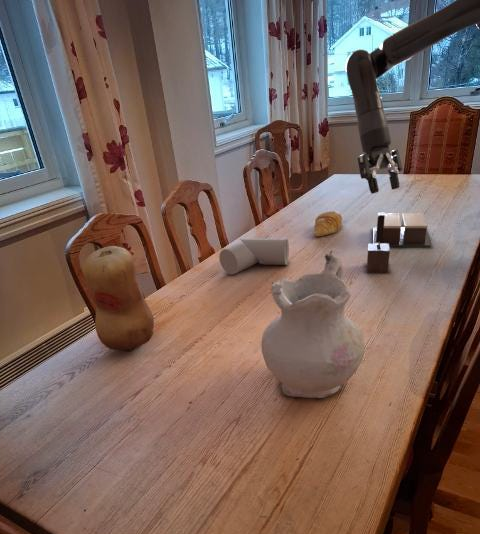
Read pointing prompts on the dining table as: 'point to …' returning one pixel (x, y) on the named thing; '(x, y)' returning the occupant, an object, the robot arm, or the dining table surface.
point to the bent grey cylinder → (254, 254)
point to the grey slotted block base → (404, 231)
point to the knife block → (378, 258)
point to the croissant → (327, 223)
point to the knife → (380, 228)
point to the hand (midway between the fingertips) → (385, 190)
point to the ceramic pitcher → (313, 334)
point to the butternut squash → (118, 299)
